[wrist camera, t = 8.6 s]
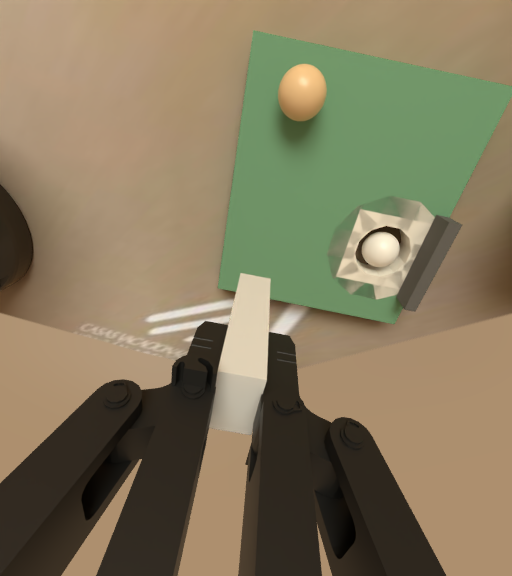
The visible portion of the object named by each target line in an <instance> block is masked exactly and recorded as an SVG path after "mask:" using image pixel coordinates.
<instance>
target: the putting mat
mask: <svg viewBox="0 0 512 576" xmlns="http://www.w3.org/2000/svg"><path fill="white" fill-rule="evenodd" d="M299 64H310V65H312V66H314V67H316V68H317V69H318V70H319V71H320V72H321V73H322V75H323V76H324V79H325V82H326V87H327V93H326V99H325V102H324V105H323V107H322V108H321V110H320V111H319V112H318V113H317V115H315V116H314V117H313V118H311V119H309V120H306V121H294V120H292V119H290V118H288V117H287V116H286V115H285V114H284V113H283V111H282V110H281V107H280V105H279V101H278V89H279V85H280V82H281V80H282V78H283V76H284V75H285V74H286V72H287V71H288V70H289V69H291V68H292V67H294V66H296V65H299ZM511 97H512V86H508V85H504V84H499V83H495V82H490V81H485V80H481V79H476V78H471V77H467V76H462V75H458V74H453V73H448V72H444V71H439V70H434V69H430V68H425V67H421V66H416V65H411V64H407V63H402V62H397V61H393V60H388V59H383V58H379V57H374V56H370V55H365V54H360V53H356V52H351V51H346V50H342V49H337V48H333V47H328V46H323V45H319V44H314V43H309V42H305V41H300V40H296V39H291V38H286V37H282V36H277V35H272V34H268V33H263V32H259V31H254V30H253V37H252V44H251V52H250V59H249V66H248V73H247V81H246V88H245V95H244V102H243V109H242V117H241V124H240V131H239V138H238V145H237V153H236V160H235V167H234V174H233V182H232V189H231V196H230V203H229V210H228V218H227V225H226V232H225V239H224V247H223V254H222V261H221V268H220V275H219V283H218V288H219V289H224V290H229V291H234V292H236V291H237V287H238V282H239V278H240V274H241V273H243V274H249V275H254V276H259V277H264V278H270V279H271V282H270V299H273V300H278V301H283V302H288V303H293V304H298V305H302V306H307V307H312V308H317V309H322V310H327V311H332V312H337V313H342V314H347V315H351V316H356V317H361V318H366V319H371V320H376V321H381V322H386V323H391V324H395V322H396V320H397V318H398V316H399V315H400V313H401V311H402V309H403V308H404V309H405V310H410V311H414V312H415V311H416V309H417V308H418V306H419V304H420V302H421V300H422V298H423V296H424V295H425V293H426V291H427V289H428V287H429V285H430V284H431V282H432V280H433V278H434V276H435V274H436V273H437V271H438V269H439V267H440V265H441V263H442V261H443V260H444V258H445V256H446V254H447V252H448V250H449V249H450V247H451V245H452V243H453V241H454V239H455V238H456V236H457V234H458V232H459V230H460V228H461V226H462V225H461V224H459V223H458V222H456V221H454V220H452V219H451V218H449V217H450V215H451V213H452V211H453V209H454V208H455V206H456V204H457V202H458V200H459V198H460V196H461V194H462V192H463V190H464V188H465V186H466V184H467V182H468V180H469V178H470V176H471V174H472V173H473V171H474V169H475V167H476V165H477V163H478V161H479V159H480V157H481V155H482V153H483V151H484V149H485V147H486V145H487V143H488V141H489V139H490V138H491V136H492V134H493V132H494V130H495V128H496V126H497V124H498V122H499V120H500V118H501V116H502V114H503V112H504V110H505V108H506V106H507V104H508V103H509V101H510V99H511ZM384 226H389V227H394V228H399V229H400V235H401V243H400V245H399V246H400V251H399V255H398V257H397V259H396V260H395V261H394V262H393V263H391V264H390V265H388V266H385V267H375V266H372V265H369V264H364V263H360V262H359V261H358V260H357V259H356V256H355V252H356V249H357V247H358V244H359V241H360V240H361V239H362V238H363V237H364V236H365V235H366V234H368V233H369V232H370V231H371V230H374V229H377V228H381V227H384Z"/></svg>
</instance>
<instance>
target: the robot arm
mask: <svg viewBox="0 0 512 576" xmlns="http://www.w3.org/2000/svg"><path fill="white" fill-rule="evenodd" d="M31 259H32V242H31V237H30V233H29V230H28V227H27V224H26V222H25V220H24V217H23V216H22V214H21V212H20V210H19V208H18V207H17V205H16V204H15V202H14V201H13V199H12V198H11V197H10V195H9V194H8V193H7V192H6V191H5V189H4V188H3V187H2V186H1V185H0V291H1V290H3V289H5V288H6V287H8V286H10V285H12V284H13V283H15V282H17V281H18V280H20V279H21V278H22V277H23V276H24V275H25V273H26V272H27V270H28V268H29V266H30V263H31ZM270 282H271V279H270V278H264V277H259V276H254V275H249V274H243V273H241V274H240V278H239V282H238V287H237V291H236V295H235V299H234V303H233V308H232V312H231V316H230V320H229V325H224V324H218V323H213V322H208V321H205V322H204V323H203V324H201V325H200V326H199V327H198V328H197V330H196V333H195V336H194V338H193V341H192V343H191V346H190V349H189V351H188V354H187V355H186V356H183V357H181V358H179V359H178V360H176V362H175V363H174V365H173V366H172V382H171V383H170V384H169V385H166V386H164V387H161V388H156V389H146V390H141V389H140V387H139V385H137V384H136V383H134V382H133V381H129V380H114V381H111V382H109V383H106V384H104V385H103V386H101V387H100V388H99V389H97V390H96V391H95V392H94V393H93V394H92V395H91V396H90V397H89V398H88V399H87V400H86V401H85V402H84V403H83V404H82V405H81V406H80V407H79V408H78V409H77V410H75V412H73V413H72V414H71V415H70V416H69V417H68V418H67V419H66V420H65V421H64V422H63V423H62V424H61V425H60V426H59V427H58V428H57V429H56V430H55V431H54V432H53V433H52V434H51V435H50V436H49V437H48V438H47V439H46V440H44V442H42V443H41V444H40V446H38V447H37V448H36V449H35V450H34V451H33V452H32V453H31V454H30V455H29V456H28V457H27V458H26V459H25V460H24V461H23V462H22V463H21V464H20V465H19V466H18V467H17V468H16V469H15V470H14V471H13V472H12V473H10V474H9V476H7V477H6V478H5V479H4V480H3V481H2V482H1V483H0V576H61V575H62V573H63V572H64V570H65V569H66V567H67V566H68V564H69V563H70V561H71V560H72V558H73V557H74V555H75V554H76V552H77V551H78V550H79V548H80V547H81V545H82V543H83V542H84V541H85V539H86V538H87V536H88V535H89V533H90V532H91V530H92V529H93V527H94V526H95V524H96V523H97V521H98V520H99V518H100V517H101V516H102V514H103V513H104V511H105V510H106V508H107V507H108V505H109V504H110V502H111V500H112V499H113V498H114V496H115V494H116V493H117V492H118V490H119V489H120V487H121V486H122V484H123V483H124V482H125V480H126V478H127V477H128V475H129V474H130V473H131V471H132V470H133V468H134V467H135V465H136V464H137V462H138V461H139V459H142V461H141V464H140V466H139V469H138V471H137V474H136V477H135V479H134V481H133V484H132V487H131V489H130V492H129V494H128V497H127V499H126V502H125V504H124V507H123V509H122V512H121V514H120V517H119V520H118V522H117V524H116V527H115V530H114V532H113V535H112V537H111V540H110V542H109V545H108V547H107V550H106V553H105V555H104V557H103V560H102V563H101V565H100V568H99V570H98V573H97V575H96V576H177V575H178V570H179V566H180V561H181V557H182V552H183V547H184V543H185V538H186V534H187V529H188V524H189V520H190V514H191V510H192V506H193V501H194V497H195V492H196V487H197V482H198V478H199V473H200V469H201V464H202V460H203V455H204V450H205V446H206V440H207V434H208V430H209V428H212V429H218V430H224V431H229V432H235V433H241V434H247V435H251V434H252V430H253V434H252V443H251V447H250V450H249V453H248V457H247V460H246V465H248V471H247V481H246V493H245V505H244V516H243V528H242V539H241V551H240V563H239V574H238V576H322V572H321V562H320V553H319V541H318V531H317V524H318V528H319V531H320V535H321V538H322V542H323V545H324V549H325V552H326V555H327V559H328V562H329V566H330V569H331V572H332V576H446V574H445V572H444V571H443V569H442V567H441V565H440V563H439V561H438V559H437V557H436V555H435V553H434V552H433V550H432V548H431V546H430V544H429V542H428V540H427V539H426V537H425V535H424V533H423V531H422V529H421V527H420V525H419V523H418V522H417V520H416V518H415V516H414V514H413V512H412V510H411V509H410V507H409V505H408V503H407V501H406V499H405V498H404V495H403V493H402V492H401V490H400V488H399V486H398V484H397V482H396V480H395V478H394V477H393V475H392V473H391V471H390V469H389V467H388V465H387V463H386V462H385V460H384V458H383V456H382V455H381V453H380V450H379V448H378V447H377V445H376V443H375V441H374V439H373V437H372V436H371V434H370V433H369V431H368V430H367V429H366V428H365V427H364V426H363V425H362V424H360V423H359V422H357V421H355V420H353V419H351V418H345V417H341V418H338V419H335V420H334V421H333V422H332V423H331V422H329V421H327V420H325V419H323V418H320V417H318V416H317V415H315V414H313V413H312V412H310V411H309V410H308V409H307V408H306V407H305V405H304V403H303V401H302V400H301V398H300V396H299V388H298V376H297V364H296V356H295V355H296V352H295V344H294V343H293V341H292V339H291V338H290V336H288V335H282V334H277V333H271V332H269V308H270Z"/></svg>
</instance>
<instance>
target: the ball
mask: <svg viewBox="0 0 512 576" xmlns="http://www.w3.org/2000/svg"><path fill="white" fill-rule="evenodd" d="M399 251H400V246H399V242H398V240H397V239H396V238H395V237H394V236H393V235H392V234H390V233H387V232H376V233H373V234H371V235H370V236H368V237H367V238H366V239H365V241H364V243H363V245H362V256H363V258H364V260H365V261H366V262H367V263H368V264H370V265H372V266H375V267H385V266H388V265H390V264H391V263H393V262H394V261H395V260H396V259H397V257H398V255H399Z"/></svg>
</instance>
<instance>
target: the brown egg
mask: <svg viewBox="0 0 512 576" xmlns="http://www.w3.org/2000/svg"><path fill="white" fill-rule="evenodd" d="M326 93H327V87H326V82H325V79H324V76H323V75H322V73H321V72H320V71H319V70H318V69H317V68H316V67H314V66H312V65H310V64H299V65H296V66H294V67H292V68H291V69H289V70H288V71H287V72H286V74H285V75H284V76H283V78H282V80H281V82H280V85H279V89H278V101H279V105H280V107H281V110H282V111H283V113H284V114H285V115H286V116H287V117H288V118H290V119H292V120H294V121H306V120H309V119H311V118H313V117H314V116H315V115H317V113H318V112H319V111H320V110H321V108H322V107H323V105H324V102H325V99H326Z"/></svg>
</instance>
